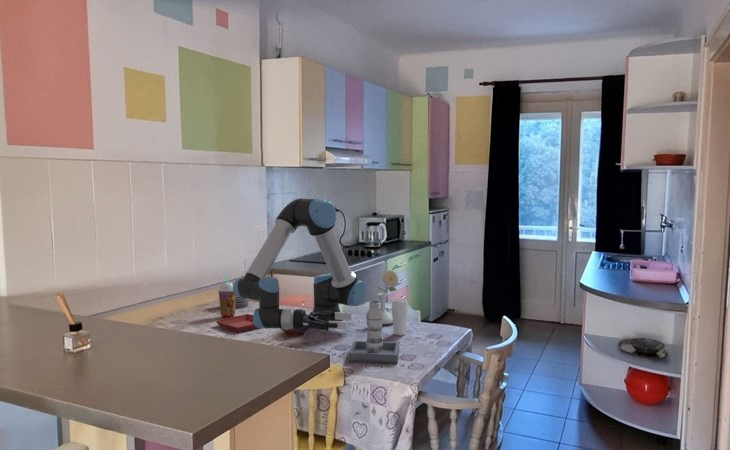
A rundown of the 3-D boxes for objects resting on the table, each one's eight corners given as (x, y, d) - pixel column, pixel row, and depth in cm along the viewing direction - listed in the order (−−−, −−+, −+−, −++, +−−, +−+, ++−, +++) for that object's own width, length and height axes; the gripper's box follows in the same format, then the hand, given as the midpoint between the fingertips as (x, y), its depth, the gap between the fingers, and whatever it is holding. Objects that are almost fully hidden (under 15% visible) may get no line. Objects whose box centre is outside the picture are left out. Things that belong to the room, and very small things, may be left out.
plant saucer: (214, 327, 255) (214, 320, 255) (247, 320, 268) (247, 313, 268) (237, 334, 243) (237, 327, 243) (270, 326, 256) (270, 319, 256)
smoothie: (215, 318, 271) (214, 277, 269) (225, 314, 278) (225, 274, 277) (229, 319, 268) (229, 278, 266) (240, 315, 275) (239, 275, 274)
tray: (353, 349, 221) (353, 340, 221) (399, 350, 219) (399, 342, 219) (348, 362, 205) (348, 353, 205) (397, 364, 203) (397, 354, 203)
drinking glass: (406, 336, 239) (406, 302, 237) (390, 336, 240) (390, 301, 239) (408, 332, 245) (408, 299, 244) (392, 331, 247) (393, 298, 245)
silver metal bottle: (364, 351, 215) (364, 300, 213) (382, 351, 215) (382, 300, 214) (366, 356, 208) (366, 304, 207) (384, 356, 209) (384, 303, 207)
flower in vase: (371, 326, 256) (371, 272, 254) (370, 320, 267) (370, 268, 265) (399, 326, 256) (399, 272, 254) (397, 320, 267) (397, 268, 265)
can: (248, 308, 292) (248, 285, 291) (226, 309, 289) (225, 286, 288) (248, 303, 303) (248, 281, 302) (226, 304, 300) (226, 282, 300)
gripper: (301, 320, 227) (353, 322, 225) (286, 337, 202) (344, 339, 200) (301, 302, 226) (353, 303, 224) (286, 317, 202) (344, 319, 199)
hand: (349, 320), depth 212 cm, fingers open, 13 cm apart
